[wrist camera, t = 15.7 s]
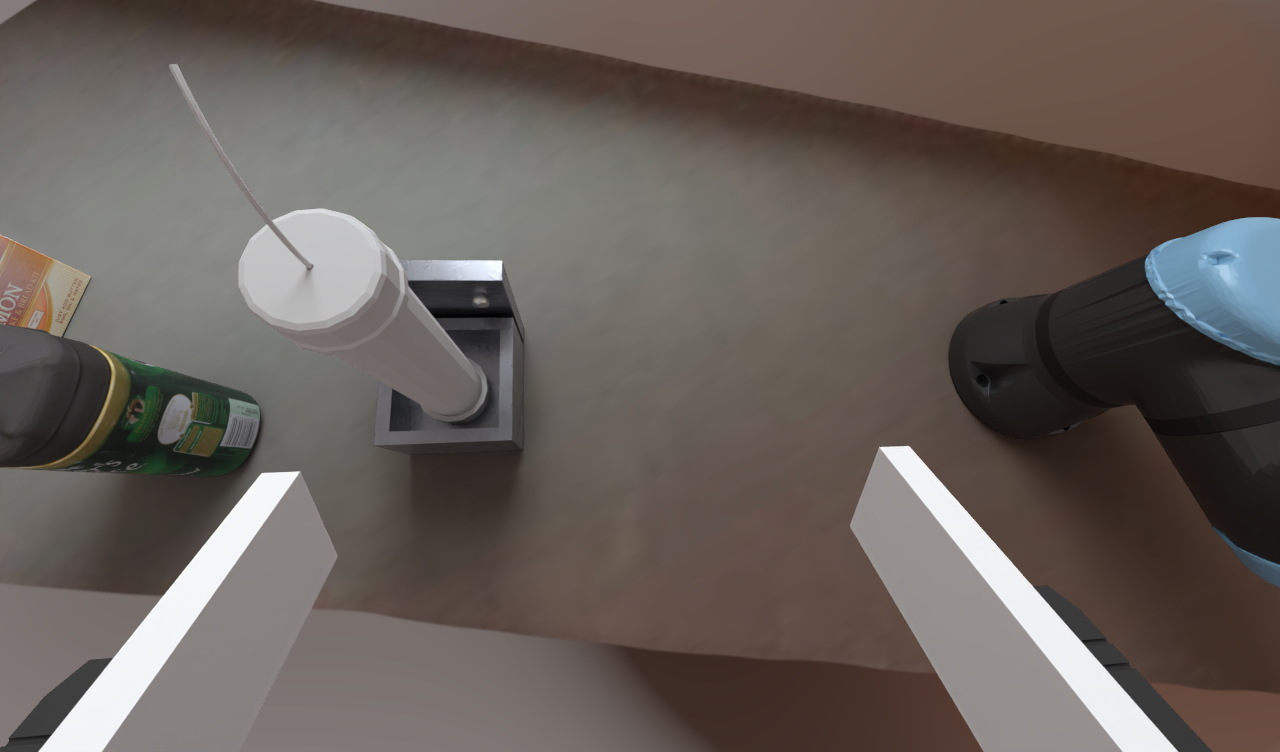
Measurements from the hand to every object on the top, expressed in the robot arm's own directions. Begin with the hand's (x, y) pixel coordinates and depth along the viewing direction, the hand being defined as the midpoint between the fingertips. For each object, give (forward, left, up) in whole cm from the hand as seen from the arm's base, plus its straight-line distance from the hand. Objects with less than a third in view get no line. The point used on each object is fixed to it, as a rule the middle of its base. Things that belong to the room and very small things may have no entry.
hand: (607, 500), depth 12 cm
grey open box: (+14, -3, -34) cm, 37 cm away
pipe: (+14, -3, -31) cm, 34 cm away
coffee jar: (+32, +10, -35) cm, 48 cm away
